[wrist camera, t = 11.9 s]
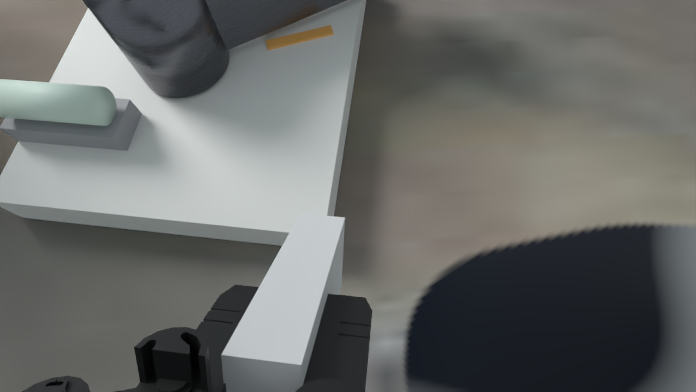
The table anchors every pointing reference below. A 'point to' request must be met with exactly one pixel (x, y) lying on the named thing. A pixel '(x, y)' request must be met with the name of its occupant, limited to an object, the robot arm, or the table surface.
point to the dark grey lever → (192, 35)
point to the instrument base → (187, 136)
